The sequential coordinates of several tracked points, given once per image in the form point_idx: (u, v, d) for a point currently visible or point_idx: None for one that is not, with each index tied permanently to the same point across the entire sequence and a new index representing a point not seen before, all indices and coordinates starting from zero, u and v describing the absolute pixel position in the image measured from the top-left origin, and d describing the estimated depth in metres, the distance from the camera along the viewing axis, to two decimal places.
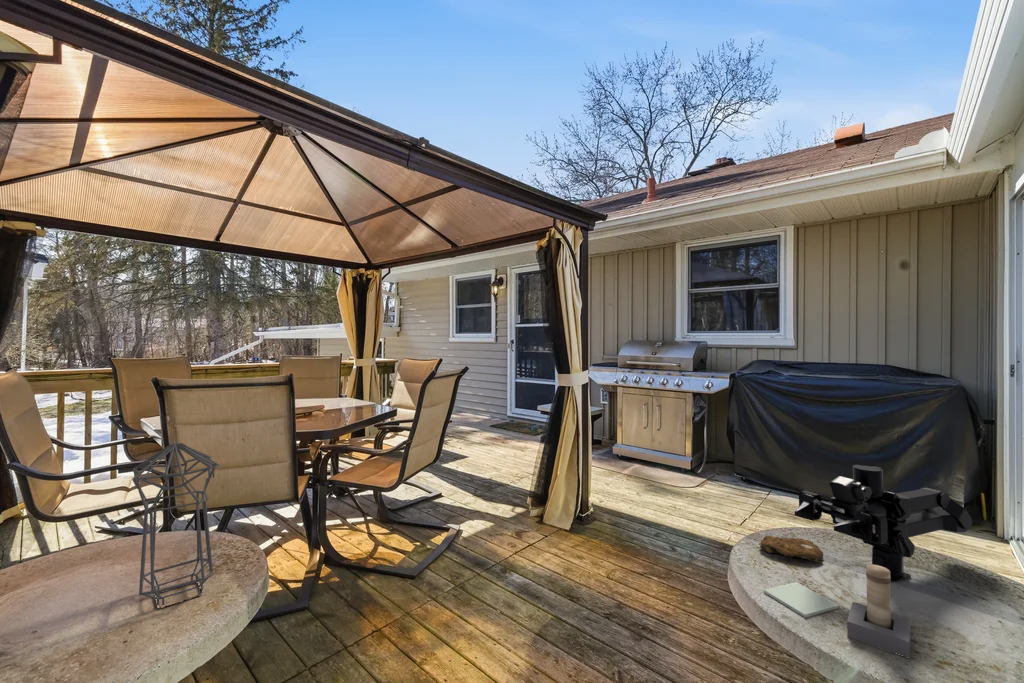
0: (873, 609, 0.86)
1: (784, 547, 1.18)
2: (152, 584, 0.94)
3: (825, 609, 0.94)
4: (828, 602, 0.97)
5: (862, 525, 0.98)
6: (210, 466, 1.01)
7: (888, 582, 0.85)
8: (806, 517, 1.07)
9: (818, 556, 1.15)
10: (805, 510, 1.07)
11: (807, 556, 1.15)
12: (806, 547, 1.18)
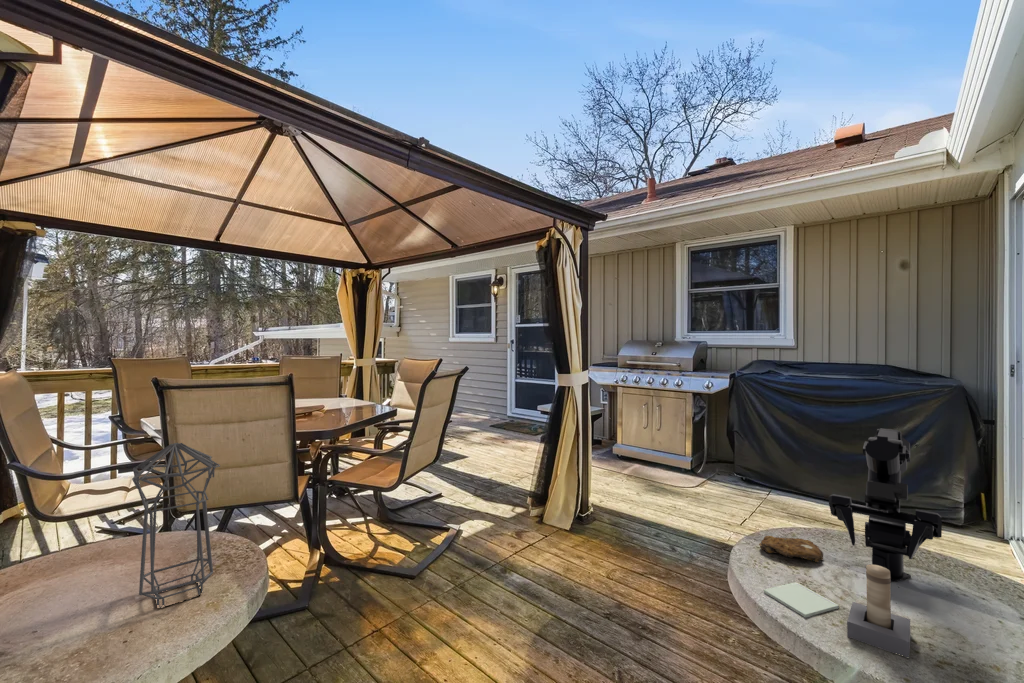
0: (873, 609, 0.86)
1: (784, 547, 1.18)
2: (152, 584, 0.94)
3: (825, 609, 0.94)
4: (828, 602, 0.97)
5: None
6: (210, 466, 1.01)
7: (888, 582, 0.85)
8: None
9: (818, 556, 1.15)
10: (853, 528, 0.98)
11: (807, 556, 1.15)
12: (806, 547, 1.18)
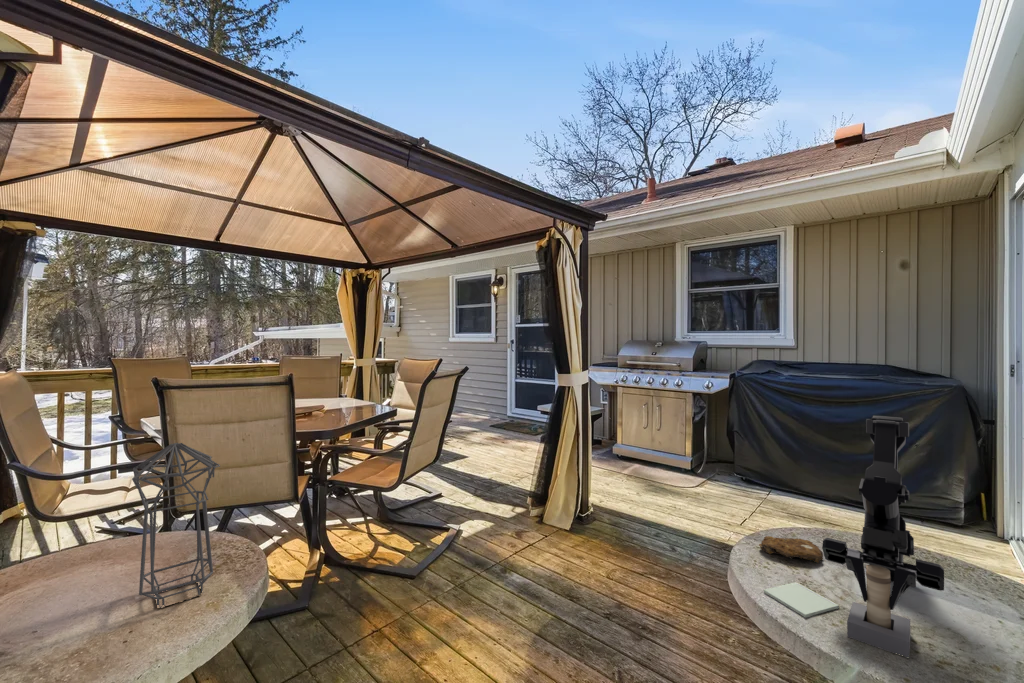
0: (873, 609, 0.86)
1: (785, 548, 1.18)
2: (152, 584, 0.94)
3: (825, 609, 0.94)
4: (828, 602, 0.97)
5: None
6: (210, 466, 1.01)
7: (888, 582, 0.85)
8: None
9: (819, 556, 1.15)
10: (865, 582, 0.89)
11: (808, 556, 1.15)
12: (806, 547, 1.18)
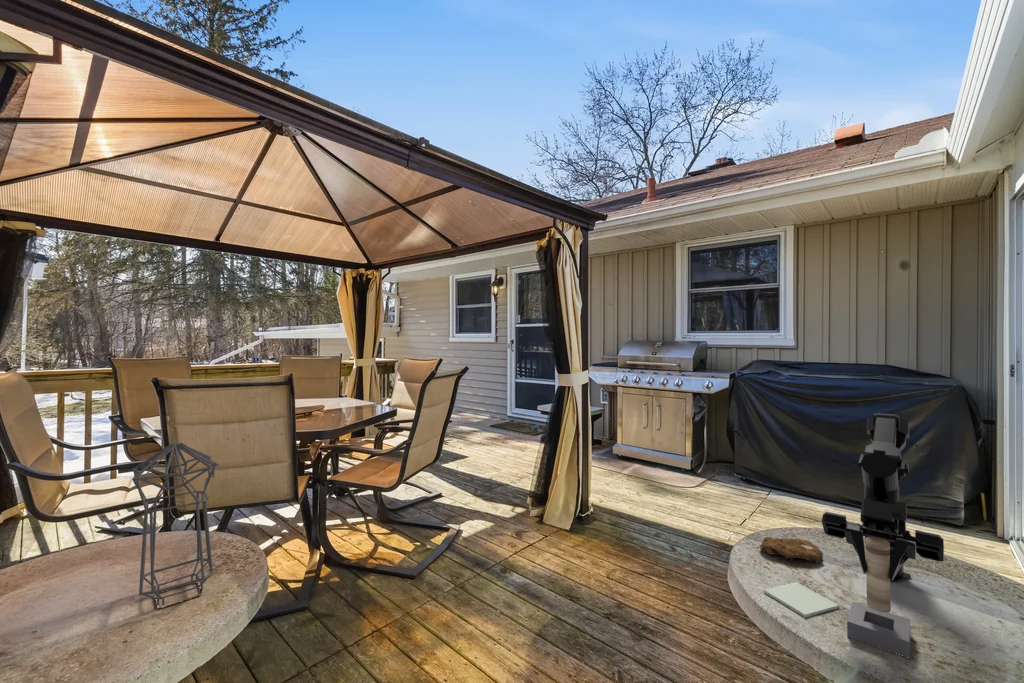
0: (872, 580, 0.86)
1: (785, 549, 1.17)
2: (152, 584, 0.94)
3: (825, 609, 0.94)
4: (828, 602, 0.97)
5: None
6: (210, 466, 1.01)
7: (887, 553, 0.85)
8: (865, 557, 0.90)
9: (819, 557, 1.15)
10: None
11: (809, 557, 1.14)
12: (807, 548, 1.18)
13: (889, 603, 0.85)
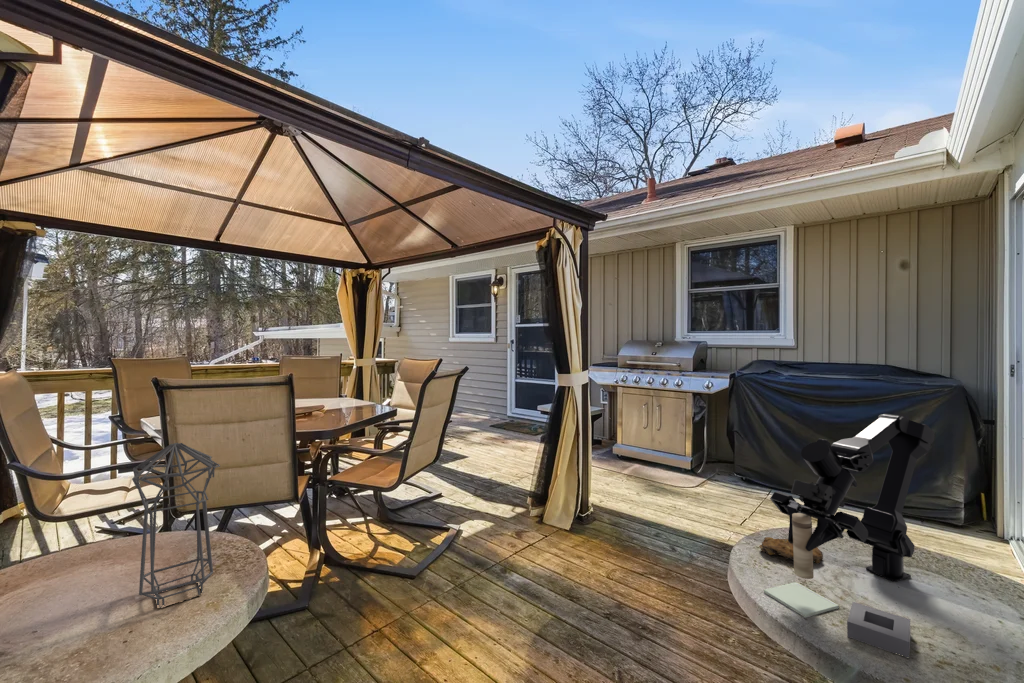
0: (794, 549, 0.98)
1: (786, 549, 1.17)
2: (152, 584, 0.94)
3: (825, 609, 0.94)
4: (828, 602, 0.97)
5: (827, 527, 0.96)
6: (210, 466, 1.01)
7: (806, 527, 0.97)
8: None
9: (819, 557, 1.15)
10: None
11: None
12: None
13: (809, 571, 0.97)
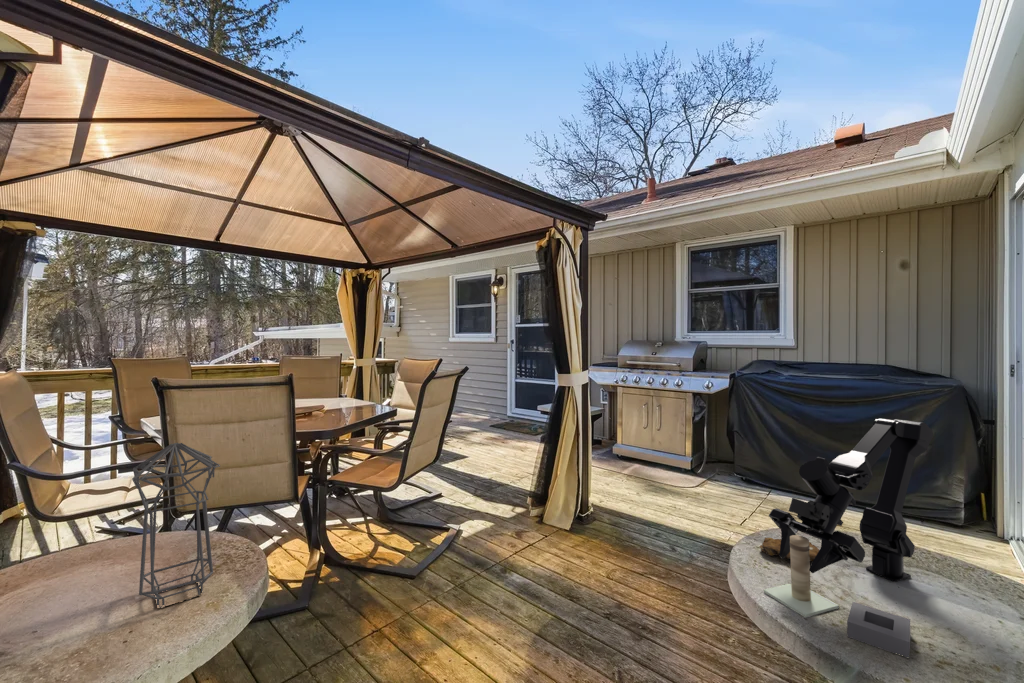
0: (792, 572, 0.99)
1: None
2: (152, 584, 0.94)
3: (825, 609, 0.94)
4: (828, 602, 0.97)
5: (832, 549, 0.95)
6: (210, 466, 1.01)
7: (803, 550, 0.97)
8: None
9: None
10: (787, 543, 1.03)
11: (810, 558, 1.14)
12: None
13: (806, 594, 0.97)
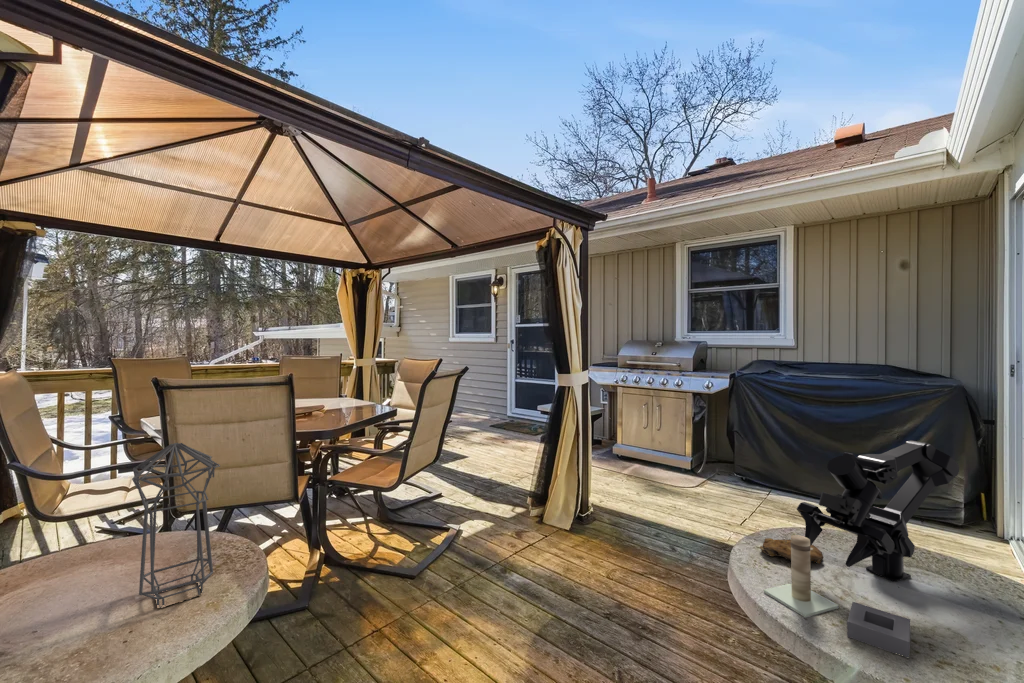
0: (792, 572, 0.99)
1: (787, 550, 1.17)
2: (152, 584, 0.94)
3: (825, 609, 0.94)
4: (828, 602, 0.97)
5: (867, 543, 0.98)
6: (210, 466, 1.01)
7: (804, 550, 0.97)
8: (815, 537, 1.08)
9: (820, 557, 1.15)
10: (811, 534, 1.07)
11: (811, 558, 1.14)
12: None
13: (806, 594, 0.97)
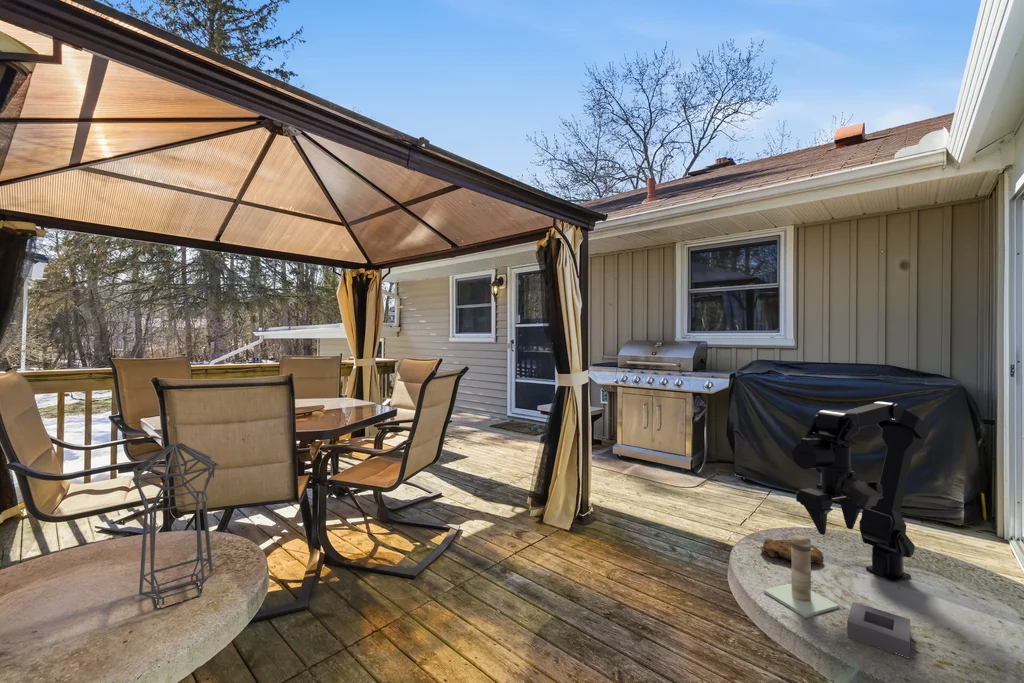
0: (792, 571, 0.99)
1: (788, 551, 1.16)
2: (152, 584, 0.94)
3: (825, 609, 0.94)
4: (828, 602, 0.97)
5: None
6: (210, 466, 1.01)
7: (804, 550, 0.97)
8: None
9: (821, 557, 1.15)
10: None
11: (811, 558, 1.14)
12: None
13: (806, 594, 0.97)
